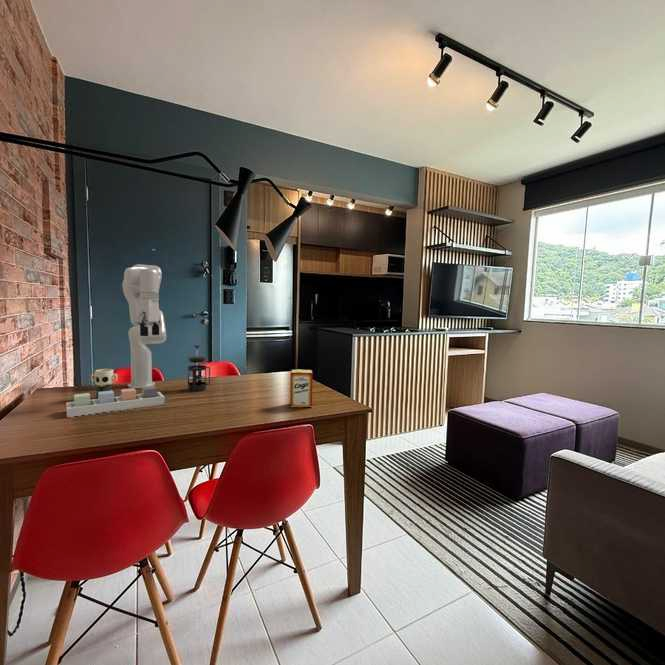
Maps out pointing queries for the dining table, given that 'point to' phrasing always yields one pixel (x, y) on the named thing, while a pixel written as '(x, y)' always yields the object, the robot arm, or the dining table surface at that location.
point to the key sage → (81, 399)
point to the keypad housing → (113, 405)
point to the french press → (198, 385)
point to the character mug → (103, 379)
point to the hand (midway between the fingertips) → (150, 335)
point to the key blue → (105, 397)
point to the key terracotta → (128, 394)
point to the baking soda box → (301, 387)
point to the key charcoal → (149, 392)
